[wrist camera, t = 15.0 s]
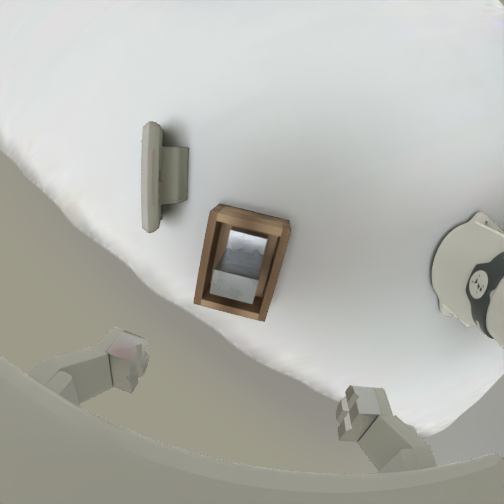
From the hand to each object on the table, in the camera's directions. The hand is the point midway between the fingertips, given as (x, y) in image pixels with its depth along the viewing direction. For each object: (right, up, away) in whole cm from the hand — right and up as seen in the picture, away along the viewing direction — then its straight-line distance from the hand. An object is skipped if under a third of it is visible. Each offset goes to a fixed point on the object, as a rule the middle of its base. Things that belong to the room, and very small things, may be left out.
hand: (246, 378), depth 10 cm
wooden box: (-1, +4, +32) cm, 32 cm away
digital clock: (-12, +16, +29) cm, 36 cm away
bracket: (-1, +4, +31) cm, 31 cm away
